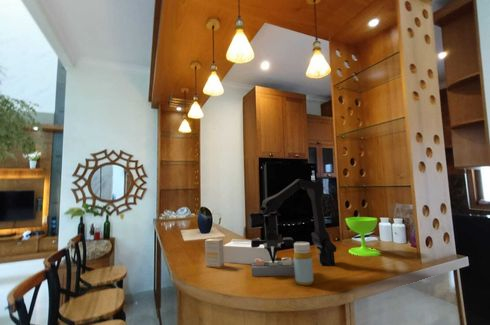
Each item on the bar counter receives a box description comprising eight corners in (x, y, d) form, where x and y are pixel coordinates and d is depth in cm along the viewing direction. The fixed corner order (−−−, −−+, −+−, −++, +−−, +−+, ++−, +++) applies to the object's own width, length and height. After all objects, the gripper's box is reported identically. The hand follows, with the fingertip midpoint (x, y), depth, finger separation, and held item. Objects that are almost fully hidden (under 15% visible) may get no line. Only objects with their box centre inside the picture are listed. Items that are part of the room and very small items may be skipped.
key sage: (277, 265, 111) (277, 260, 111) (278, 268, 107) (277, 263, 108) (268, 265, 112) (268, 260, 112) (268, 268, 108) (268, 263, 108)
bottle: (293, 280, 99) (290, 242, 100) (310, 278, 99) (307, 240, 101) (298, 286, 92) (295, 245, 94) (316, 285, 93) (313, 244, 94)
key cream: (290, 262, 111) (290, 257, 111) (291, 264, 107) (291, 259, 107) (281, 262, 111) (281, 257, 111) (282, 265, 107) (282, 260, 108)
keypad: (294, 268, 113) (293, 260, 113) (296, 275, 104) (295, 266, 104) (253, 269, 114) (252, 261, 115) (252, 276, 106) (251, 267, 106)
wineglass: (343, 253, 133) (340, 219, 135) (355, 247, 144) (352, 216, 146) (374, 258, 122) (370, 221, 124) (385, 251, 133) (381, 217, 134)
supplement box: (224, 265, 123) (223, 238, 124) (219, 268, 119) (218, 240, 120) (210, 263, 126) (209, 238, 128) (205, 266, 122) (204, 240, 123)
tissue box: (268, 266, 119) (267, 243, 120) (223, 262, 128) (222, 241, 130) (276, 258, 132) (275, 237, 133) (235, 255, 142) (234, 236, 143)
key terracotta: (264, 262, 112) (264, 257, 112) (264, 265, 108) (264, 260, 108) (255, 263, 112) (255, 258, 112) (255, 265, 108) (254, 260, 108)
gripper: (249, 230, 104) (251, 268, 102) (293, 228, 103) (296, 267, 101) (251, 226, 115) (252, 260, 114) (291, 224, 114) (293, 259, 112)
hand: (273, 261), depth 110 cm, fingers closed, pressing on key sage
